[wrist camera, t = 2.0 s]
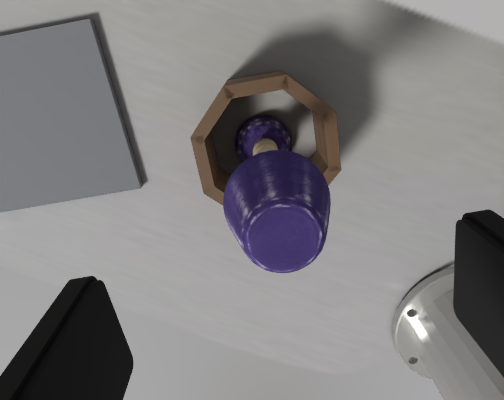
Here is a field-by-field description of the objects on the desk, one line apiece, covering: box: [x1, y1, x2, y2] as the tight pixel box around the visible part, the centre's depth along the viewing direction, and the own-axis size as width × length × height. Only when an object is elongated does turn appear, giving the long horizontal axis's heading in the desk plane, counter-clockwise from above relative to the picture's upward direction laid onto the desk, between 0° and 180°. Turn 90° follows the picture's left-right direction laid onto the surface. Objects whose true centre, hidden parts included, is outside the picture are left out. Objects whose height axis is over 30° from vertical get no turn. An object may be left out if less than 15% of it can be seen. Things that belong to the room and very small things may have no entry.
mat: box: [0, 19, 143, 212], centre depth 28 cm, size 12×12×1 cm
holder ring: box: [191, 71, 341, 205], centre depth 27 cm, size 9×9×4 cm
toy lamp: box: [223, 115, 330, 273], centre depth 21 cm, size 5×5×17 cm
